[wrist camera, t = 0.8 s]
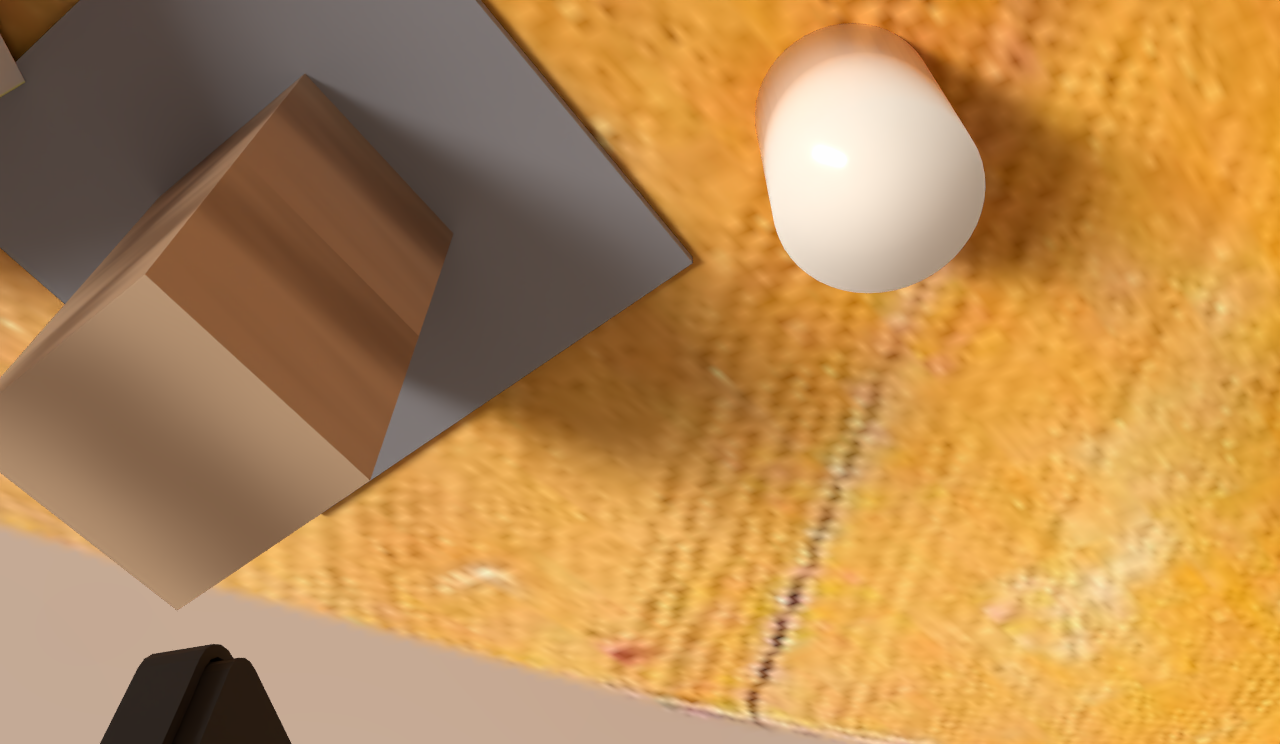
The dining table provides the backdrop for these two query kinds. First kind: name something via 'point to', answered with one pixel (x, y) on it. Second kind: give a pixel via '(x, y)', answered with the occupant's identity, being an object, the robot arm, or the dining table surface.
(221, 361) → the tower top
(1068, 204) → the dining table surface
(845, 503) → the dining table surface
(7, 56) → the puzzle toy
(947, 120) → the ceramic cylinder
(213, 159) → the block
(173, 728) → the robot arm
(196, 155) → the mat
